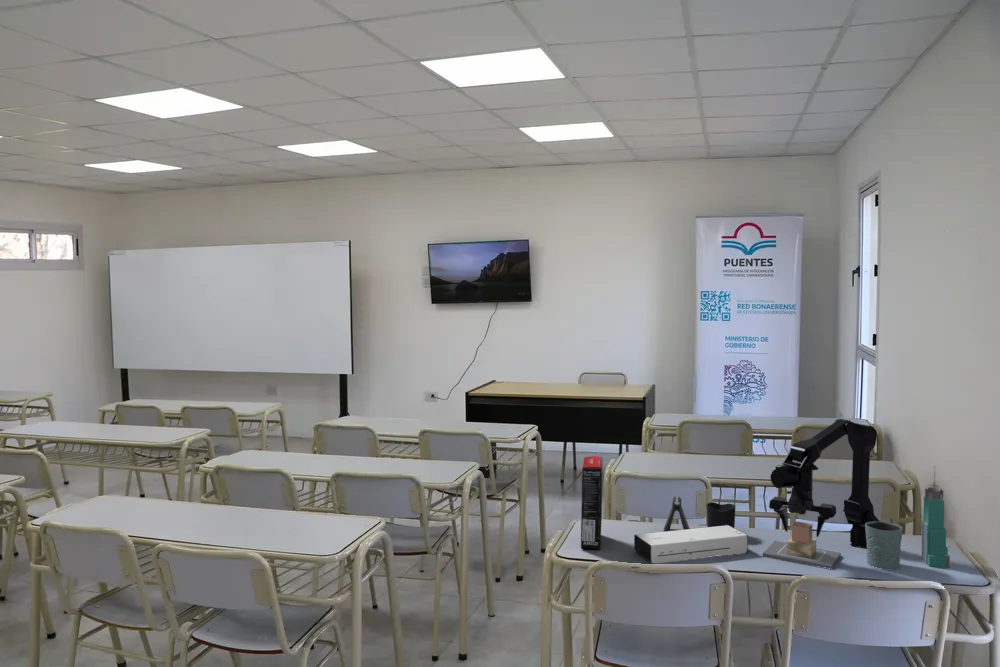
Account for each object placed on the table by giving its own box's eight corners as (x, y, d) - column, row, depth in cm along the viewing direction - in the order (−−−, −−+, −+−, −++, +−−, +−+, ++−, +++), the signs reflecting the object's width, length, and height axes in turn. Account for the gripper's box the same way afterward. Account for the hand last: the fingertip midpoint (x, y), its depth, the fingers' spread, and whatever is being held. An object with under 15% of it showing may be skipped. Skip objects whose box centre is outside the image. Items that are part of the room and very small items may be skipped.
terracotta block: (812, 539, 232) (812, 523, 231) (808, 543, 227) (808, 527, 227) (795, 536, 234) (795, 521, 234) (791, 541, 230) (791, 525, 230)
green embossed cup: (873, 570, 218) (874, 530, 218) (858, 558, 229) (858, 520, 228) (908, 570, 218) (909, 530, 218) (891, 558, 228) (892, 520, 228)
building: (943, 560, 226) (945, 463, 225) (950, 567, 220) (952, 468, 219) (921, 559, 228) (923, 463, 226) (928, 566, 222) (930, 467, 220)
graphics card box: (582, 533, 255) (582, 455, 254) (602, 534, 254) (602, 455, 253) (580, 550, 238) (580, 466, 237) (602, 551, 237) (602, 467, 236)
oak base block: (816, 551, 232) (816, 539, 232) (810, 558, 226) (811, 545, 226) (792, 547, 236) (793, 535, 236) (787, 553, 230) (787, 541, 230)
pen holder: (719, 528, 260) (720, 500, 259) (741, 535, 251) (741, 506, 251) (700, 533, 255) (700, 504, 254) (721, 540, 247) (722, 511, 246)
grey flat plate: (840, 555, 231) (840, 552, 231) (831, 569, 220) (831, 565, 220) (774, 543, 243) (774, 540, 243) (762, 556, 231) (762, 552, 231)
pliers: (690, 531, 257) (690, 497, 256) (690, 536, 251) (690, 501, 250) (663, 529, 259) (663, 495, 258) (663, 534, 253) (663, 500, 253)
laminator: (650, 565, 225) (650, 545, 225) (632, 552, 237) (632, 533, 237) (747, 554, 234) (747, 535, 234) (725, 542, 246) (726, 523, 246)
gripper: (764, 485, 229) (764, 535, 230) (829, 494, 218) (828, 546, 219) (774, 478, 238) (773, 526, 239) (836, 486, 227) (836, 536, 228)
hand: (801, 533), depth 231 cm, fingers open, 9 cm apart
